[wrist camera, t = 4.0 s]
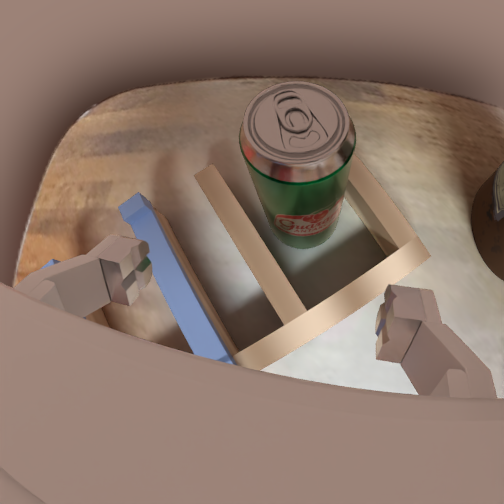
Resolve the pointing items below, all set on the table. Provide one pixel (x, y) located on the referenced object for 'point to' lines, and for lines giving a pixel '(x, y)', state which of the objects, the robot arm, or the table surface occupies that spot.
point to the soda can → (299, 159)
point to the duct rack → (276, 284)
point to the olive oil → (490, 222)
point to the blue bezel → (173, 281)
